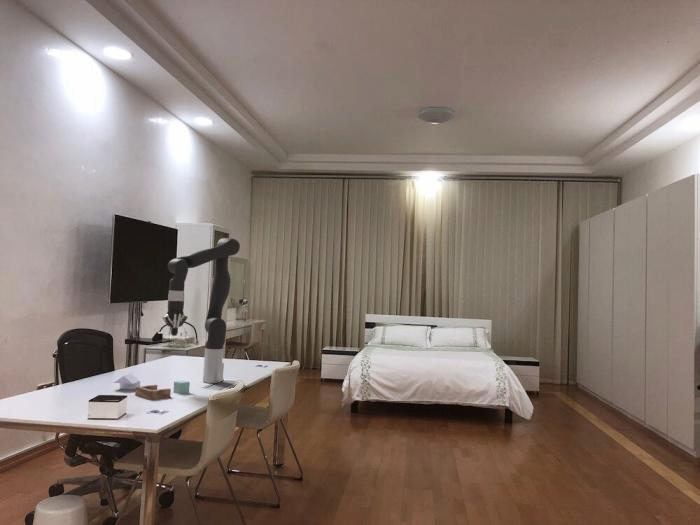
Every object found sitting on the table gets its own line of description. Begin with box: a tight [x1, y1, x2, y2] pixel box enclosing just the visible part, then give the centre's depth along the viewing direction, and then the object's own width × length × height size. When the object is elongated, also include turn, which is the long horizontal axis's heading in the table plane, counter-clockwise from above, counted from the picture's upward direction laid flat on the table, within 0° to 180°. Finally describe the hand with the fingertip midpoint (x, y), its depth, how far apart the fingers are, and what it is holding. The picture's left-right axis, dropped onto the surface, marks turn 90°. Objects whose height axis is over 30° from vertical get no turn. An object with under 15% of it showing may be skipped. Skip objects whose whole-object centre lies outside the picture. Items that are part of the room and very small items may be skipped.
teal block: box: [173, 380, 191, 395], centre depth 259 cm, size 5×5×5 cm
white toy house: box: [113, 372, 141, 390], centre depth 262 cm, size 9×7×13 cm
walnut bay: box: [134, 384, 172, 401], centre depth 248 cm, size 10×12×4 cm
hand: (174, 335), depth 271 cm, fingers closed
